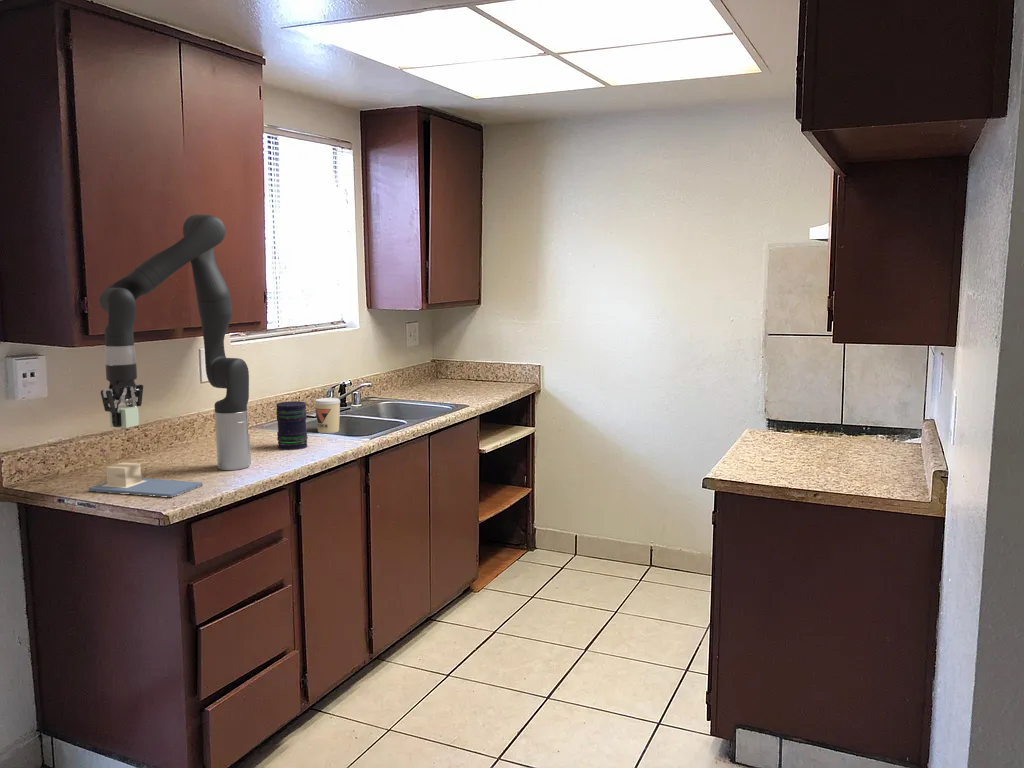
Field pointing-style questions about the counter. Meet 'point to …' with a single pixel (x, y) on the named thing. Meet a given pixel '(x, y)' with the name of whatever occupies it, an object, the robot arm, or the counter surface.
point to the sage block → (127, 417)
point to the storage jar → (291, 425)
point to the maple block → (123, 474)
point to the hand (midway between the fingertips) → (124, 424)
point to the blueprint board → (150, 487)
